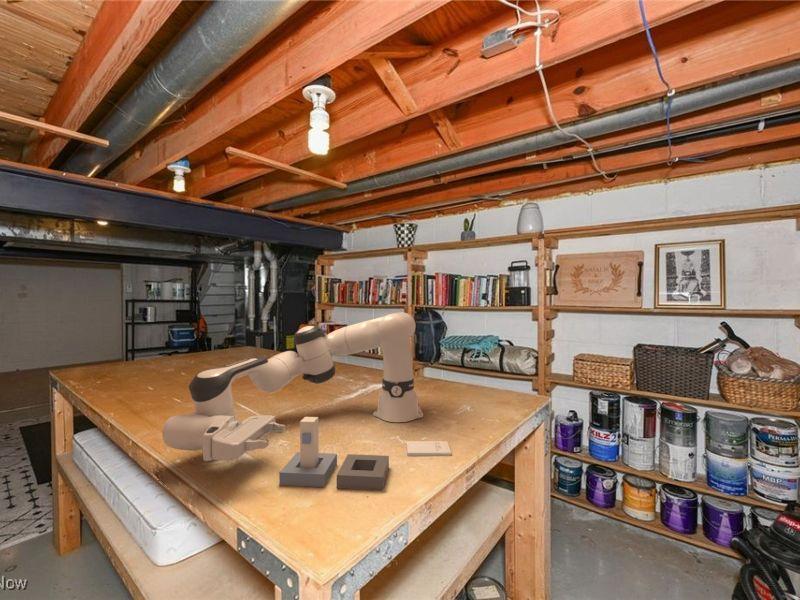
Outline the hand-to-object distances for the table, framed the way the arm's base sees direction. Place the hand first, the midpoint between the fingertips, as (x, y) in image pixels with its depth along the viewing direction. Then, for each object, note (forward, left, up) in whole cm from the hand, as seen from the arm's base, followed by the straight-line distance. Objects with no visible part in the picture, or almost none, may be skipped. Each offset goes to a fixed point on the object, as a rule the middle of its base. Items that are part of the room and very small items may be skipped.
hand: (276, 436), depth 89 cm
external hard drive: (-17, +38, -10) cm, 43 cm away
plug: (0, +9, -9) cm, 13 cm away
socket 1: (0, +9, -9) cm, 13 cm away
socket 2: (0, +23, -9) cm, 25 cm away
